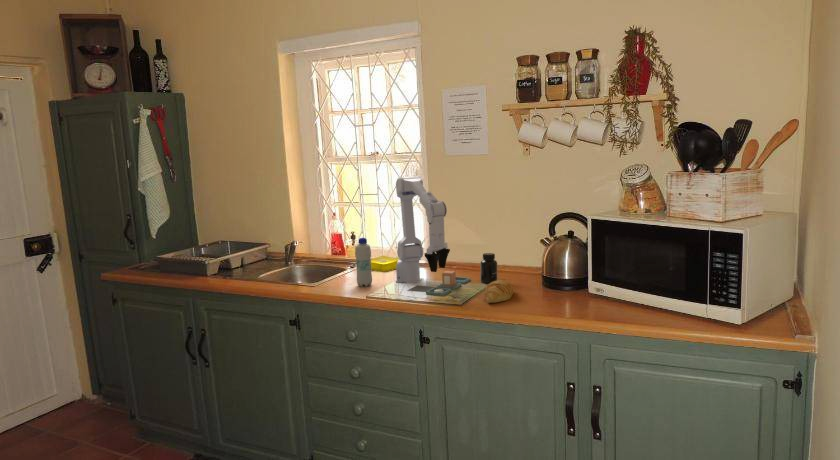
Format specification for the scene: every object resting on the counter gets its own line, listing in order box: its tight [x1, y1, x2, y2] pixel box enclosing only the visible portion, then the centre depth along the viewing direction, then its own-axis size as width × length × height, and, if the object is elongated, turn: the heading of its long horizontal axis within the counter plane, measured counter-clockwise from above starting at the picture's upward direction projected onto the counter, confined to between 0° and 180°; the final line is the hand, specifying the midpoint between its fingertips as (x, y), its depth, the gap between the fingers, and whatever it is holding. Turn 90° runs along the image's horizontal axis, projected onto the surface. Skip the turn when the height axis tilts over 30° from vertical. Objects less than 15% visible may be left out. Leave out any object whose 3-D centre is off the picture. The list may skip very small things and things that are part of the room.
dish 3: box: [456, 276, 471, 285], centre depth 236 cm, size 7×7×1 cm
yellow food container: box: [371, 255, 400, 273], centre depth 273 cm, size 15×15×5 cm
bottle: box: [354, 237, 373, 288], centre depth 236 cm, size 7×7×20 cm
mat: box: [407, 285, 437, 293], centre depth 226 cm, size 9×9×1 cm
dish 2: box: [436, 283, 462, 291], centre depth 227 cm, size 7×7×1 cm
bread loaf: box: [485, 278, 514, 304], centre depth 210 cm, size 21×10×8 cm, turn 152°
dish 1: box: [425, 288, 452, 297], centre depth 219 cm, size 7×7×1 cm
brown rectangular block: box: [441, 270, 457, 287], centre depth 227 cm, size 4×4×6 cm
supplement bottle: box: [480, 252, 498, 285], centre depth 233 cm, size 7×7×12 cm
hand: (438, 269), depth 217 cm, fingers open, 7 cm apart
